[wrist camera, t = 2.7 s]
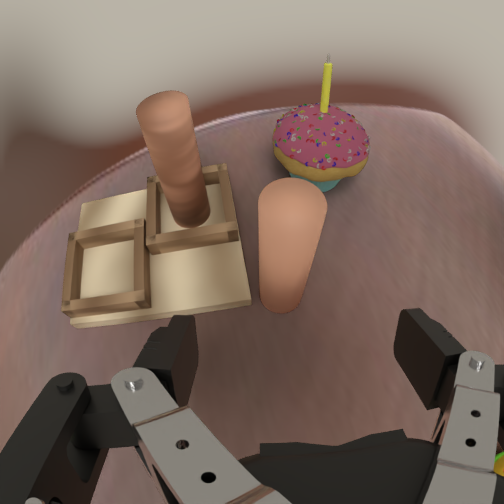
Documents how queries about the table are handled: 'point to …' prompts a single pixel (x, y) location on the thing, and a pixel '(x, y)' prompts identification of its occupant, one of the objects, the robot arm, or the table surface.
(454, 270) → the table surface
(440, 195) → the table surface
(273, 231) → the peg
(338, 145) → the cupcake
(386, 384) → the table surface
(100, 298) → the board
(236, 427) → the table surface
